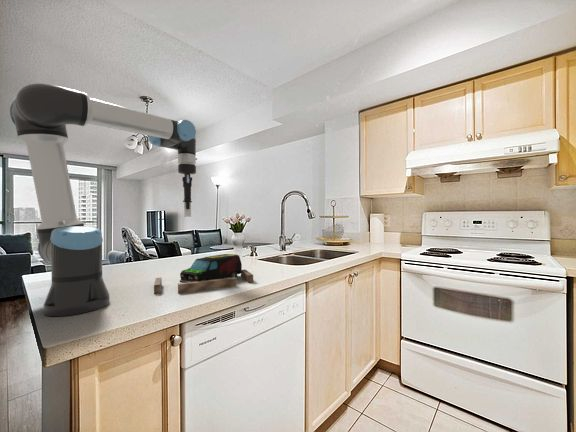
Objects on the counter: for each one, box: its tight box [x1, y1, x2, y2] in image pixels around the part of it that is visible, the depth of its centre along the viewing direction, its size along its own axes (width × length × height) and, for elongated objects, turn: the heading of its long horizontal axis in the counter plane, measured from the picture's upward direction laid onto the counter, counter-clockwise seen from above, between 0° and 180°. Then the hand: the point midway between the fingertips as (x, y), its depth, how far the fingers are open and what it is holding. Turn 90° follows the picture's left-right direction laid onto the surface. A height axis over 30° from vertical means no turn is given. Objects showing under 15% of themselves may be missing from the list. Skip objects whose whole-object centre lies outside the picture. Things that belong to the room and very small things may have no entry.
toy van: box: [179, 253, 243, 283], centre depth 107 cm, size 11×25×10 cm, turn 149°
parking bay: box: [153, 269, 254, 295], centre depth 101 cm, size 35×15×3 cm, turn 114°
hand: (187, 216), depth 119 cm, fingers closed
